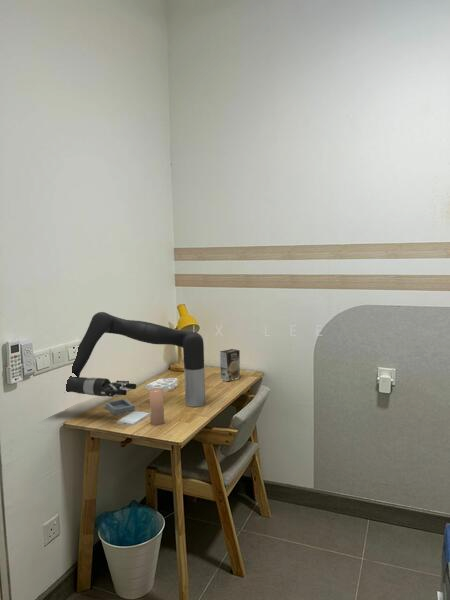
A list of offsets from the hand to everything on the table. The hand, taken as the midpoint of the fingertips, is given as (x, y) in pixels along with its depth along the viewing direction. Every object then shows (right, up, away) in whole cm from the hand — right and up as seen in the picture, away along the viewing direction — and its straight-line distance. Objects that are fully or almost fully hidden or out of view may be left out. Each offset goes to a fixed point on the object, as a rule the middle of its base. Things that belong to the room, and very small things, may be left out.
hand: (131, 389), depth 188 cm
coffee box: (+43, -6, +58) cm, 72 cm away
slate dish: (-8, -12, +15) cm, 21 cm away
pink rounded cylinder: (+11, -14, -1) cm, 18 cm away
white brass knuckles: (+7, -9, +46) cm, 48 cm away
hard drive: (0, -14, +3) cm, 14 cm away
